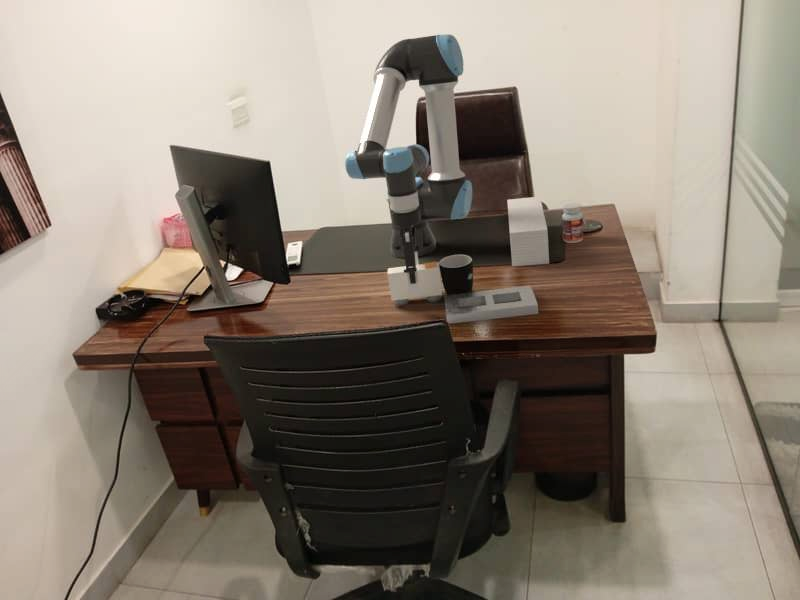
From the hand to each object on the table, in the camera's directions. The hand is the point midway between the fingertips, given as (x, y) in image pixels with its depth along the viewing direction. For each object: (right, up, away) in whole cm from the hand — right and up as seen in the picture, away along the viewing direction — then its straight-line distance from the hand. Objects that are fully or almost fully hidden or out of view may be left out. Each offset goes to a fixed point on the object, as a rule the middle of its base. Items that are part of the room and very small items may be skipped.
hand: (415, 283), depth 182 cm
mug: (+13, -3, +4) cm, 13 cm away
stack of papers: (+36, +12, +28) cm, 48 cm away
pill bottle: (+50, +14, +27) cm, 58 cm away
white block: (+1, -5, +2) cm, 5 cm away
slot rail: (+19, -7, -8) cm, 22 cm away
